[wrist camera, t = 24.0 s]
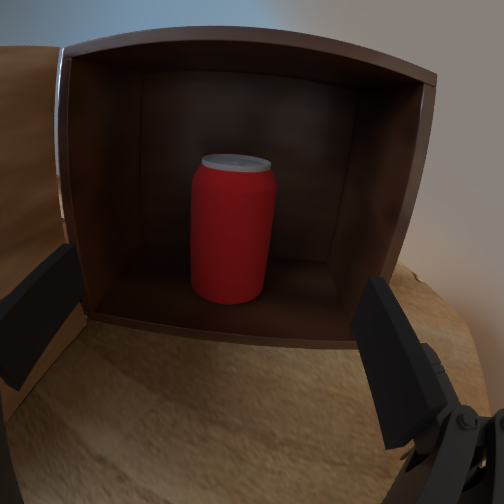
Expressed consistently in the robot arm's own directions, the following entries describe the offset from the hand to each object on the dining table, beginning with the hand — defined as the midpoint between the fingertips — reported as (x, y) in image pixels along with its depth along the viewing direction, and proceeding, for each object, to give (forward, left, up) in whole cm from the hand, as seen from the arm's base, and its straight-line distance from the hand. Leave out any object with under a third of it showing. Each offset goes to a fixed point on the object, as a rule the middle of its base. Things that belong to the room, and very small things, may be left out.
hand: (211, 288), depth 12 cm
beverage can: (0, -12, -9) cm, 15 cm away
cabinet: (0, -13, -10) cm, 17 cm away
